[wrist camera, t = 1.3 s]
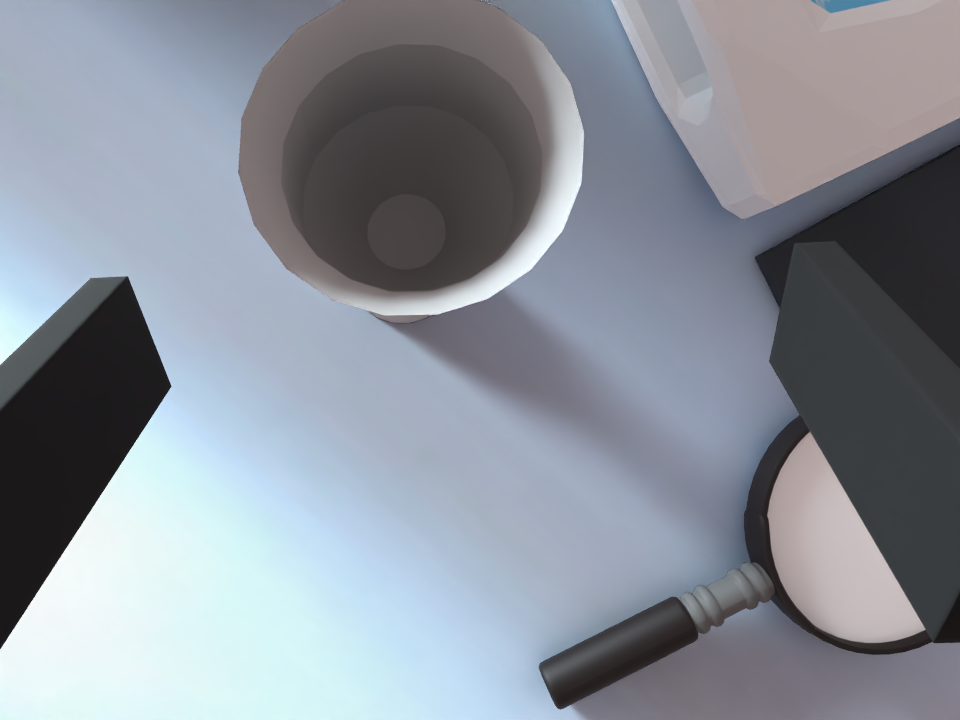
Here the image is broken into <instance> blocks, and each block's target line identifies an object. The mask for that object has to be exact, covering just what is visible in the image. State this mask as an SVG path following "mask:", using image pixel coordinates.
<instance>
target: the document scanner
mask: <svg viewBox="0 0 960 720" xmlns="http://www.w3.org/2000/svg"><path fill="white" fill-rule="evenodd" d="M611 1H612V3H613V5H614V8H615V10H616V12H617V14H618V16H619V18H620V21H621V23H622V25H623V27H624V29H625V32H626V34H627V36H628V38H629V40H630V42H631V45H632V47H633V49H634V51H635V53H636V56H637V58H638V60H639V62H640V64H641V66H642V69H643V71H644V73H645V75H646V77H647V79H648V82H649V84H650V86H651V88H652V90H653V93H654V95H655V97H656V99H657V101H658V102H659V104H660V106H661V107H662V109H663V110H664V112H665V114H666V115H667V117H668V119H669V120H670V122H671V123H672V125H673V127H674V128H675V130H676V132H677V133H678V135H679V137H680V138H681V140H682V141H683V143H684V145H685V146H686V148H687V150H688V151H689V153H690V155H691V156H692V158H693V159H694V161H695V163H696V164H697V166H698V168H699V169H700V171H701V173H702V174H703V176H704V177H705V179H706V181H707V182H708V184H709V186H710V187H711V189H712V191H713V192H714V194H715V195H716V197H717V199H718V200H719V202H720V204H721V205H722V207H724V208H725V209H727V210H728V211H730V212H732V213H733V214H735V215H736V216H738V217H739V218H741V219H746V218H748V217H751V216H753V215H756V214H758V213H761V212H763V211H766V210H768V209H771V208H773V207H776V206H778V205H780V204H782V203H784V202H786V201H788V200H790V199H793V198H795V197H797V196H799V195H801V194H803V193H805V192H807V191H809V190H811V189H814V188H816V187H818V186H820V185H822V184H824V183H826V182H828V181H830V180H832V179H835V178H837V177H839V176H841V175H843V174H845V173H847V172H849V171H851V170H853V169H855V168H858V167H860V166H862V165H864V164H866V163H868V162H870V161H872V160H874V159H876V158H879V157H881V156H883V155H885V154H887V153H889V152H891V151H893V150H895V149H897V148H899V147H901V146H903V145H905V144H907V143H909V142H912V141H914V140H916V139H918V138H920V137H922V136H924V135H926V134H928V133H930V132H932V131H934V130H936V129H938V128H940V127H942V126H944V125H946V124H948V123H950V122H952V121H954V120H956V119H958V118H960V0H611Z"/></svg>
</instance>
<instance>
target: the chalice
mask: <svg viewBox="0 0 960 720" xmlns="http://www.w3.org/2000/svg"><path fill="white" fill-rule="evenodd" d="M583 147H584V130H583V126H582V122H581V119H580V115H579V112H578V108H577V105H576V101H575V97H574V94H573V90H572V87H571V83H570V82H569V80H568V79H567V77H566V76H565V74H564V73H563V71H562V70H561V68H560V67H559V66H558V64H557V63H556V61H555V60H554V58H553V57H552V55H551V54H550V52H549V51H548V49H547V48H546V47H545V45H544V44H543V42H542V41H541V40H540V39H539V38H538V37H536V36H535V35H534V34H532V33H531V32H530V31H528V30H527V29H526V28H525V27H523V26H522V25H521V24H519V23H518V22H517V21H515V20H514V19H513V18H511V17H510V16H509V15H508V14H506V13H505V12H504V11H502V10H501V9H500V8H497V7H494V6H492V5H489V4H486V3H483V2H481V1H478V0H345V1H343V2H341V3H340V4H338V5H336V6H335V7H333V8H331V9H330V10H328V11H326V12H325V13H323V14H321V15H320V16H318V17H316V18H315V19H313V20H311V21H310V22H308V23H306V24H305V25H303V26H301V27H300V28H298V29H297V30H296V31H295V33H294V34H293V35H292V36H291V37H290V38H289V39H288V40H287V42H286V43H285V44H284V45H283V46H282V47H281V48H280V49H279V51H278V52H277V53H276V54H275V55H274V56H273V57H272V59H271V60H270V61H269V62H268V63H267V64H266V65H265V66H264V68H263V69H262V71H261V74H260V76H259V78H258V81H257V83H256V85H255V88H254V90H253V92H252V95H251V97H250V100H249V102H248V104H247V107H246V109H245V111H244V114H243V116H242V120H241V137H240V153H239V170H238V173H239V176H240V179H241V183H242V186H243V190H244V193H245V196H246V200H247V203H248V206H249V210H250V213H251V216H252V220H253V223H254V225H255V227H256V228H257V229H258V231H259V232H260V234H261V235H262V236H263V238H264V239H265V240H266V242H267V243H268V244H269V246H270V247H271V248H272V250H273V251H274V253H275V254H276V255H277V257H278V258H279V259H280V261H281V262H282V263H283V265H284V266H285V267H286V269H287V270H289V271H290V272H292V273H293V274H295V275H296V276H298V277H299V278H301V279H302V280H303V281H305V282H306V283H308V284H309V285H311V286H312V287H314V288H315V289H317V290H318V291H319V292H321V293H322V294H324V295H325V296H327V297H328V298H330V299H331V300H333V301H337V302H340V303H344V304H347V305H351V306H354V307H357V308H361V309H364V310H367V311H369V312H370V313H371V314H373V315H374V316H375V317H378V318H381V319H383V320H386V321H389V322H392V323H411V322H414V321H418V320H421V319H424V318H427V317H428V316H429V315H438V314H441V313H445V312H448V311H451V310H454V309H457V308H460V307H464V306H467V305H470V304H473V303H476V302H479V301H483V300H486V299H488V298H490V297H491V296H493V295H494V294H496V293H497V292H499V291H500V290H502V289H503V288H505V287H506V286H508V285H509V284H511V283H512V282H514V281H515V280H517V279H518V278H520V277H521V276H523V275H524V274H526V273H527V272H528V271H530V270H531V269H532V268H533V267H534V265H535V264H536V263H537V262H538V260H539V259H540V258H541V257H542V256H543V254H544V253H545V252H546V251H547V249H548V248H549V247H550V246H551V244H552V243H553V242H554V241H555V240H556V238H557V237H558V236H559V235H560V233H561V232H562V231H563V229H564V227H565V224H566V221H567V219H568V216H569V214H570V211H571V209H572V206H573V204H574V201H575V199H576V196H577V193H578V191H579V188H580V186H581V183H582V166H583Z"/></svg>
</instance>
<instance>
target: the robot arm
mask: <svg viewBox="0 0 960 720" xmlns="http://www.w3.org/2000/svg"><path fill="white" fill-rule="evenodd" d="M769 362H770V364H771V366H772V367H773V369H774V371H775V373H776V374H777V376H778V378H779V379H780V381H781V383H782V384H783V386H784V388H785V390H786V391H787V393H788V395H789V396H790V398H791V400H792V402H793V403H794V405H795V407H796V408H797V410H798V412H799V414H800V415H801V417H802V419H803V420H804V422H805V424H806V426H807V427H808V429H809V431H810V432H811V434H812V436H813V438H814V439H815V441H816V443H817V444H818V446H819V448H820V450H821V451H822V453H823V455H824V456H825V458H826V460H827V462H828V463H829V465H830V467H831V468H832V470H833V472H834V474H835V475H836V477H837V479H838V480H839V482H840V484H841V485H842V487H843V489H844V491H845V492H846V494H847V496H848V497H849V499H850V501H851V503H852V504H853V506H854V508H855V509H856V511H857V513H858V515H859V516H860V518H861V520H862V521H863V523H864V525H865V527H866V528H867V530H868V532H869V533H870V535H871V537H872V539H873V540H874V542H875V544H876V545H877V547H878V549H879V551H880V552H881V554H882V556H883V557H884V559H885V561H886V563H887V564H888V566H889V568H890V569H891V571H892V573H893V574H894V576H895V578H896V580H897V581H898V583H899V585H900V586H901V588H902V590H903V592H904V593H905V595H906V597H907V598H908V600H909V602H910V604H911V605H912V607H913V609H914V610H915V612H916V614H917V616H918V617H919V619H920V621H921V622H922V624H923V626H924V628H925V629H926V631H927V633H928V634H929V636H930V638H931V640H932V641H933V643H958V642H960V368H959V367H958V366H957V365H956V364H955V363H954V362H953V361H952V360H951V359H950V358H949V357H948V356H947V355H946V354H945V353H944V352H943V351H942V350H941V349H940V348H939V347H938V346H937V345H936V344H935V343H934V342H933V341H932V340H931V339H930V338H929V337H928V336H927V335H926V334H925V333H924V332H923V330H922V329H921V328H920V327H919V326H918V325H917V324H916V323H915V322H914V321H913V320H912V319H911V318H910V317H909V316H908V315H907V314H906V313H905V312H904V311H903V310H902V309H901V308H900V307H899V306H898V305H897V304H896V303H895V302H894V301H893V300H892V299H891V298H890V297H889V296H888V295H887V294H886V293H885V291H884V290H883V289H882V288H881V287H880V286H879V285H878V284H877V283H876V282H875V281H874V280H873V279H872V278H871V277H870V276H869V275H868V274H867V273H866V272H865V271H864V270H863V269H862V268H861V267H860V266H859V265H858V264H857V263H856V262H855V261H854V260H853V259H852V258H851V257H850V256H849V255H848V254H847V252H846V251H845V250H844V249H843V248H842V247H841V246H840V245H839V244H838V243H837V242H836V241H828V242H808V243H794V248H793V252H792V257H791V262H790V266H789V271H788V276H787V280H786V285H785V290H784V294H783V299H782V304H781V308H780V313H779V318H778V322H777V327H776V332H775V336H774V341H773V346H772V350H771V355H770V360H769ZM170 388H171V384H170V382H169V379H168V377H167V374H166V371H165V369H164V366H163V364H162V361H161V359H160V356H159V354H158V351H157V349H156V346H155V344H154V341H153V339H152V336H151V334H150V331H149V329H148V326H147V324H146V321H145V319H144V316H143V314H142V311H141V309H140V306H139V304H138V301H137V299H136V296H135V293H134V291H133V288H132V286H131V283H130V281H129V278H128V276H127V277H107V278H91V279H90V280H89V281H87V282H86V283H85V284H84V285H83V286H82V287H81V288H80V289H79V290H78V291H77V292H76V293H75V294H74V295H73V296H72V297H71V298H70V299H69V300H68V301H67V302H66V303H65V304H64V305H62V306H61V307H60V308H59V309H58V310H57V311H56V312H55V313H54V314H53V315H52V316H51V317H50V318H49V319H48V320H47V321H46V322H45V323H44V324H43V325H42V326H41V327H40V328H39V329H38V330H36V331H35V332H34V333H33V334H32V335H31V336H30V337H29V338H28V339H27V340H26V341H25V342H24V343H23V344H22V345H21V346H20V347H19V348H18V349H17V350H16V351H15V352H14V353H13V354H11V355H10V356H9V357H8V358H7V359H6V360H5V361H4V362H3V363H2V364H1V365H0V649H1V647H2V646H3V644H4V643H5V641H6V640H7V638H8V637H9V635H10V634H11V632H12V630H13V629H14V627H15V626H16V624H17V623H18V621H19V620H20V618H21V617H22V615H23V614H24V612H25V610H26V609H27V607H28V606H29V604H30V603H31V601H32V600H33V598H34V597H35V595H36V594H37V592H38V591H39V589H40V587H41V586H42V584H43V583H44V581H45V580H46V578H47V577H48V575H49V574H50V572H51V571H52V569H53V567H54V566H55V564H56V563H57V561H58V560H59V558H60V557H61V555H62V554H63V552H64V551H65V549H66V548H67V546H68V544H69V543H70V541H71V540H72V538H73V537H74V535H75V534H76V532H77V531H78V529H79V528H80V526H81V524H82V523H83V521H84V520H85V518H86V517H87V515H88V514H89V512H90V511H91V509H92V508H93V506H94V505H95V503H96V501H97V500H98V498H99V497H100V495H101V494H102V492H103V491H104V489H105V488H106V486H107V485H108V483H109V481H110V480H111V478H112V477H113V475H114V474H115V472H116V471H117V469H118V468H119V466H120V465H121V463H122V462H123V460H124V458H125V457H126V455H127V454H128V452H129V451H130V449H131V448H132V446H133V445H134V443H135V442H136V440H137V438H138V437H139V435H140V434H141V432H142V431H143V429H144V428H145V426H146V425H147V423H148V422H149V420H150V419H151V417H152V415H153V414H154V412H155V411H156V409H157V408H158V406H159V405H160V403H161V402H162V400H163V399H164V397H165V395H166V394H167V392H168V391H169V389H170Z"/></svg>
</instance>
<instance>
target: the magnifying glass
mask: <svg viewBox="0 0 960 720" xmlns="http://www.w3.org/2000/svg"><path fill="white" fill-rule="evenodd" d="M744 530H745V541H746V545H747V550H748V554H749V558H750V561H751V563H750V562H745V563H743V564H742V565H741V566H740V569H739V570H738V569H731V570H729V571H728V572H727V575H726V577H724V578H722V579H720V580H718V581H716V582H714V583H712V584H710V585H708V586H706V587H704V586H702V585H700V586H697V587H696V588H695V589H694V592H693V593H692V594H691V593H689V592H685V593H683V594H682V595H681V597H680V600H679V599H678V598H676V597H670V598H668V599H666V600H664V601H662V602H660V603H658V604H656V605H654V606H652V607H650V608H648V609H646V610H644V611H642V612H640V613H638V614H636V615H634V616H632V617H630V618H628V619H626V620H624V621H623V622H621V623H619V624H617V625H615V626H613V627H611V628H609V629H607V630H605V631H603V632H601V633H599V634H597V635H595V636H593V637H591V638H589V639H587V640H585V641H583V642H581V643H579V644H577V645H575V646H573V647H571V648H569V649H567V650H565V651H563V652H561V653H559V654H557V655H555V656H553V657H551V658H549V659H547V660H545V661H543V662H541V663H540V665H539V670H540V672H541V675H542V677H543V680H544V682H545V684H546V686H547V689H548V691H549V693H550V695H551V698H552V700H553V702H554V704H555V706H556V707H557V708H558V709H563V708H565V707H567V706H569V705H571V704H573V703H575V702H577V701H579V700H581V699H583V698H585V697H587V696H589V695H591V694H593V693H595V692H597V691H599V690H601V689H603V688H605V687H607V686H609V685H611V684H612V683H614V682H616V681H618V680H620V679H622V678H624V677H626V676H628V675H630V674H632V673H634V672H636V671H638V670H640V669H642V668H644V667H646V666H648V665H650V664H652V663H654V662H656V661H658V660H659V659H661V658H663V657H665V656H667V655H669V654H671V653H673V652H675V651H677V650H679V649H681V648H683V647H685V646H687V645H689V644H691V643H693V642H695V641H696V640H697V639H698V632H699V633H701V634H705V633H707V632H708V631H709V630H710V627H711V626H712V625H713V626H715V627H719V626H721V625H722V624H723V623H724V619H726V618H728V617H730V616H732V615H734V614H735V613H737V612H739V611H741V610H743V609H745V608H747V609H750V610H751V609H754V608H756V607H757V605H758V603H759V601H760V602H763V603H765V602H768V601H769V600H770V599H771V600H772V601H773V602H774V603H775V604H776V605H777V606H778V608H779V609H780V610H781V611H782V612H783V613H784V614H786V615H787V616H788V617H789V618H790V619H791V620H792V621H794V622H795V623H796V624H798V625H799V626H800V627H802V628H803V629H804V630H806V631H807V632H809V633H811V634H813V635H815V636H816V637H818V638H820V639H821V640H823V641H825V642H827V643H830V644H832V645H834V646H837V647H839V648H841V649H845V650H849V651H852V652H856V653H864V654H872V655H879V654H894V653H901V652H906V651H909V650H912V649H916V648H919V647H922V646H924V645H926V644H928V643H931V642H933V641H932V640H931V638H930V636H929V634H928V633H927V631H926V629H925V628H924V626H923V624H922V622H921V621H920V619H919V617H918V616H917V614H916V612H915V610H914V609H913V607H912V605H911V604H910V602H909V600H908V598H907V597H906V595H905V593H904V592H903V590H902V588H901V586H900V585H899V583H898V581H897V580H896V578H895V576H894V574H893V573H892V571H891V569H890V568H889V566H888V564H887V563H886V561H885V559H884V557H883V556H882V554H881V552H880V551H879V549H878V547H877V545H876V544H875V542H874V540H873V539H872V537H871V535H870V533H869V532H868V530H867V528H866V527H865V525H864V523H863V521H862V520H861V518H860V516H859V515H858V513H857V511H856V509H855V508H854V506H853V504H852V503H851V501H850V499H849V497H848V496H847V494H846V492H845V491H844V489H843V487H842V485H841V484H840V482H839V480H838V479H837V477H836V475H835V474H834V472H833V470H832V468H831V467H830V465H829V463H828V462H827V460H826V458H825V456H824V455H823V453H822V451H821V450H820V448H819V446H818V444H817V443H816V441H815V439H814V438H813V436H812V434H811V432H810V431H809V429H808V427H807V426H806V424H805V422H804V420H803V419H802V417H801V415H800V416H798V417H797V418H796V419H794V420H793V421H792V422H790V423H789V424H788V425H787V426H786V427H785V428H784V429H783V430H782V431H781V432H780V433H779V434H778V436H777V437H776V438H775V440H774V441H773V442H772V443H771V445H770V446H769V447H768V449H767V451H766V452H765V454H764V456H763V458H762V459H761V461H760V463H759V465H758V468H757V470H756V472H755V475H754V477H753V481H752V484H751V487H750V491H749V496H748V502H747V508H746V510H745V513H744Z"/></svg>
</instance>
